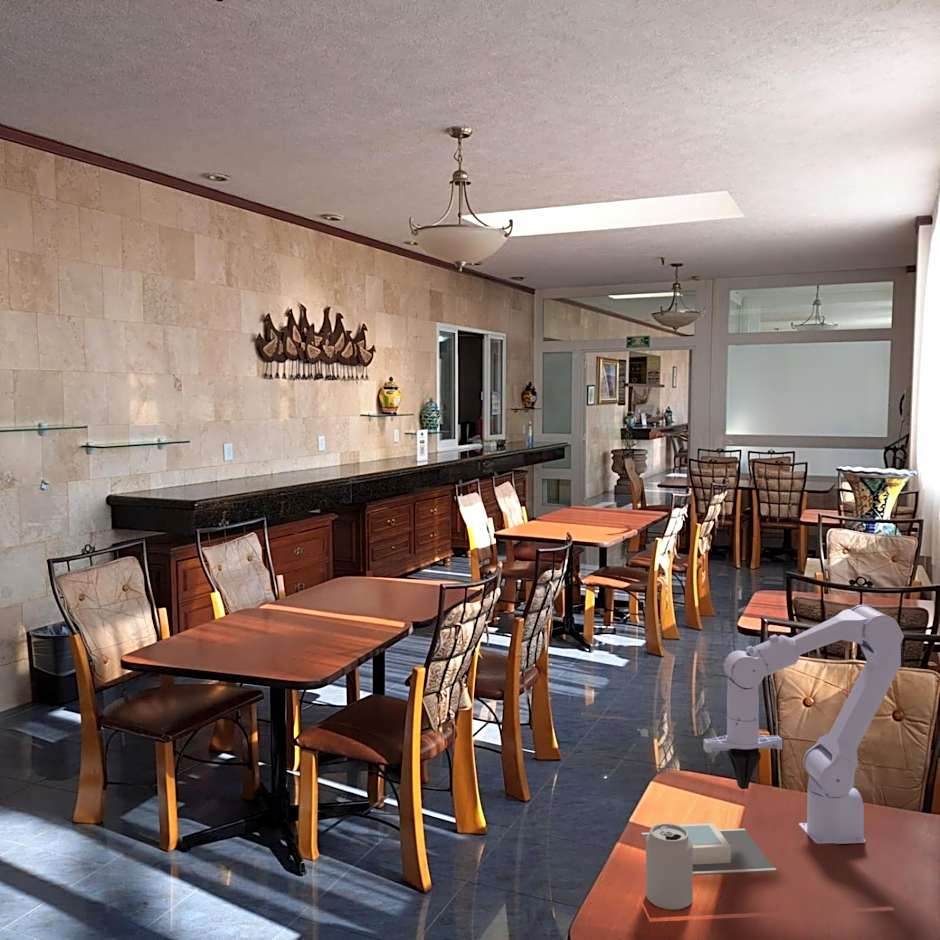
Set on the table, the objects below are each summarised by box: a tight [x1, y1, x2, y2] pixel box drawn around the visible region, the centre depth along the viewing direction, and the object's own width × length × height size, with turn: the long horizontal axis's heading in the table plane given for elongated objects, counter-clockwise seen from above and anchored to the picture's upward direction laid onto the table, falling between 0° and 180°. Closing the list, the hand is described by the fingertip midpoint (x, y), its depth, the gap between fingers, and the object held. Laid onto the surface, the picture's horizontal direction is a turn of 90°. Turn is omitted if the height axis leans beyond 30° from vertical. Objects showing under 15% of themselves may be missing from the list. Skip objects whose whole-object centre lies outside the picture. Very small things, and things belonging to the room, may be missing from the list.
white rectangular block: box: [677, 822, 731, 864], centre depth 162 cm, size 3×9×8 cm
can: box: [645, 823, 694, 911], centre depth 146 cm, size 8×8×12 cm
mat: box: [640, 827, 778, 876], centre depth 162 cm, size 20×16×1 cm
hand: (742, 786), depth 168 cm, fingers closed
